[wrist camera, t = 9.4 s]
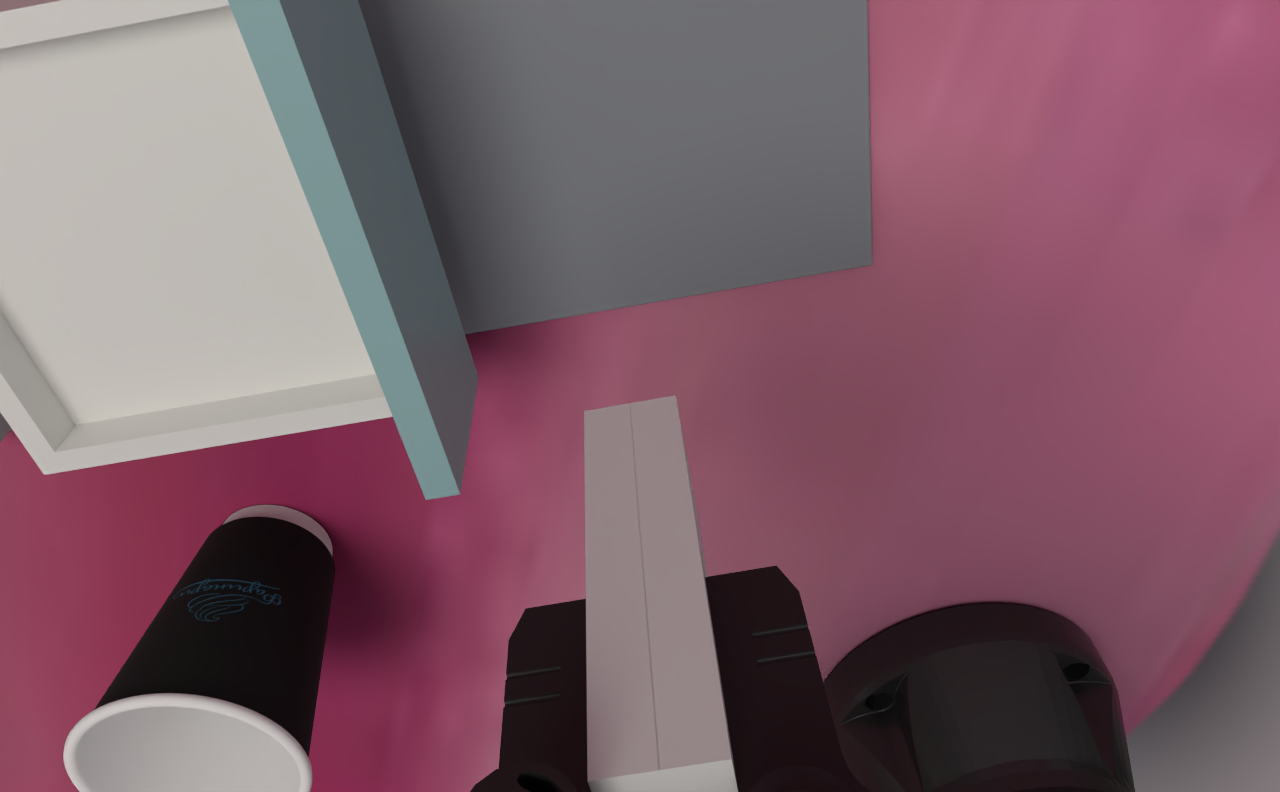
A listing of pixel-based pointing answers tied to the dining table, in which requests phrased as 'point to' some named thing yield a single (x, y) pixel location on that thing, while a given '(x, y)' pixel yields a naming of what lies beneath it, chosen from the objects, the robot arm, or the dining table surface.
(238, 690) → the dixie cup
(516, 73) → the track
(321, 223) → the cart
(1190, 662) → the dining table surface
